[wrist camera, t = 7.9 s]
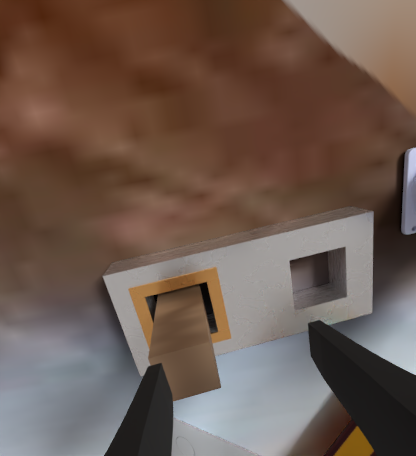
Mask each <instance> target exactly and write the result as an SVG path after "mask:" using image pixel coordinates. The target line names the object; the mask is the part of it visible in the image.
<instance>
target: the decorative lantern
mask: <svg viewBox="0 0 416 456" xmlns="http://www.w3.org/2000/svg"><path fill="white" fill-rule="evenodd" d="M324 456H377V455H376V453H375V451H374V450H373V448H372V447H371V445H370V444H369V442H368V441H367V439H366V438H365V436H364V435H363V433H362V432H361V430H360V429H359V427H358V426H357V425H356V423H355V422H354V420H353V419H352V420H351V421H350V423H349V424H348V425H347V426H346V428H345V429H344V430H343V432H342V433H341V434H340V435H339V437H338V438H337V439H336V441H335V442H334V443H333V444H332V446H331V447H330V448H329V450H328V451H327V452H326V453H325V455H324Z"/></svg>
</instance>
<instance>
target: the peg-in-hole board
mask: <svg viewBox="0 0 416 456" xmlns="http://www.w3.org/2000/svg"><path fill="white" fill-rule="evenodd" d="M325 251H328V270H329V284H325V285H321V286H317V287H313V288H309V289H306V290H302V291H298V292H294V293H293V291H292V282H291V273H290V263H289V260H293V259H297V258H301V257H305V256H309V255H313V254H317V253H321V252H325ZM103 279H104V281H105V284H106V286H107V289H108V292H109V294H110V297H111V300H112V302H113V305H114V308H115V310H116V313H117V316H118V318H119V321H120V324H121V326H122V329H123V331H124V334H125V337H126V339H127V342H128V345H129V347H130V350H131V353H132V355H133V358H134V361H135V363H136V366H137V368H138V371H139V374H140V376H144V374H145V372H146V370H147V368H148V366H151V365H150V363H149V360H148V356H149V349H150V343H151V336H152V330H153V324H154V317H155V311H156V302H155V299H154V296H153V295H155V294H160V293H164V292H168V291H172V290H176V289H180V288H184V287H188V286H192V285H196V284H200V283H204V282H207V286H208V290H209V295H210V299H211V303H212V308H213V312H214V313H213V314H209V315H207V318H208V323H209V328H210V333H211V338H212V343H213V348H214V354H215V356H217V355H221V354H225V353H228V352H232V351H236V350H239V349H243V348H247V347H250V346H254V345H258V344H261V343H265V342H269V341H272V340H276V339H280V338H283V337H287V336H291V335H294V334H298V333H302V332H305V331H308V323H310V322H314V321H317V320H321V321H322V322H324V323H325V324H327V325H331V324H334V323H338V322H342V321H345V320H349V319H353V318H356V317H360V316H364V315H367V314H371V313H372V296H373V211H370V210H366V209H361V208H357V207H352V206H349V207H345V208H341V209H337V210H332V211H328V212H324V213H320V214H315V215H311V216H307V217H303V218H298V219H294V220H290V221H286V222H282V223H277V224H273V225H269V226H265V227H260V228H256V229H252V230H248V231H244V232H239V233H235V234H231V235H227V236H222V237H218V238H214V239H210V240H205V241H201V242H197V243H193V244H189V245H184V246H180V247H176V248H172V249H167V250H163V251H159V252H155V253H151V254H146V255H142V256H138V257H134V258H129V259H125V260H121V261H117V262H112V263H111V265H110V266H109V268H108V269H107V271H106V272H105V274H104V275H103Z"/></svg>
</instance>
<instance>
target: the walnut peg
mask: <svg viewBox="0 0 416 456" xmlns="http://www.w3.org/2000/svg"><path fill="white" fill-rule="evenodd" d="M148 360H149V363H150V365H155V364H159V363H162V366H163V369H164V372H165V374H166V377H167V380H168V383H169V386H170V389H171V392H172V395H173V401H176V400H180V399H183V398H187V397H190V396H194V395H197V394H201V393H204V392H208V391H211V390H215V389H218V388H221V384H220V379H219V374H218V369H217V364H216V359H215V354H214V348H213V343H212V338H211V333H210V328H209V323H208V318H207V312H206V308H205V304H204V300H203V296H202V291H201V287H200V284H196V285H192V286H188V287H184V288H180V289H176V290H172V291H168V292H164V293H160V294H158V298H157V305H156V311H155V317H154V324H153V330H152V336H151V343H150V349H149V356H148Z"/></svg>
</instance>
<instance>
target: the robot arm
mask: <svg viewBox="0 0 416 456" xmlns="http://www.w3.org/2000/svg"><path fill="white" fill-rule="evenodd" d="M401 232H402V233H403V234H406V235H409V234H413V233H416V148H412V149H409V150H407V151H406V153H405V162H404V183H403V203H402V224H401ZM308 331H309V342H310V352H311V357H312V359H313V361H314V362H315V364H316V366H317V368H318V370H319V371H320V373H321V375H322V376H323V378H324V380H325V381H326V383H327V384H328V385H329V387H330V388H331V390H332V391H333V392H334V394H335V395H336V397H337V398H338V399H339V401H340V402H341V404H342V405H343V406H344V408H345V409H346V411H347V412H348V413H349V415H350V416H351V418H352V419H353V420H354V422H355V423H356V425H357V426H358V427H359V429H360V430H361V432H362V433H363V435H364V436H365V438H366V439H367V441H368V442H369V444H370V445H371V447H372V448H373V450H374V451H375V453H376V455H377V456H416V375H414V374H412V373H410V372H408V371H406V370H404V369H402V368H400V367H398V366H396V365H394V364H392V363H391V362H389V361H387V360H385V359H383V358H381V357H379V356H378V355H376V354H374V353H372V352H371V351H369V350H367V349H366V348H364V347H362V346H361V345H359V344H357V343H356V342H354V341H352V340H351V339H349V338H348V337H346V336H344V335H343V334H341V333H340V332H338V331H336V330H335V329H333V328H332V327H330V326H329V325H327V324H325V323H324V322H322V321H321V320H317V321H314V322H310V323H308ZM172 437H173V395H172V392H171V389H170V386H169V383H168V380H167V377H166V374H165V372H164V369H163V366H162V363H159V364H155V365H151V366H148V368H147V370H146V372H145V374H144V377H143V379H142V381H141V384H140V386H139V388H138V390H137V392H136V395H135V397H134V399H133V401H132V403H131V405H130V407H129V409H128V412H127V414H126V416H125V418H124V420H123V422H122V424H121V426H120V427H119V429H118V431H117V433H116V435H115V437H114V439H113V441H112V443H111V444H110V446H109V448H108V450H107V452H106V453H105V455H104V456H171V453H172Z"/></svg>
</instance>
